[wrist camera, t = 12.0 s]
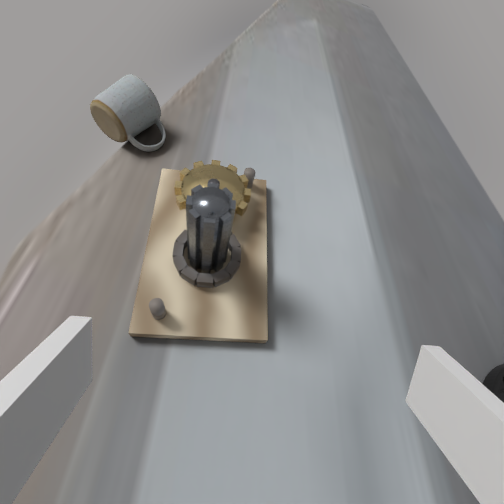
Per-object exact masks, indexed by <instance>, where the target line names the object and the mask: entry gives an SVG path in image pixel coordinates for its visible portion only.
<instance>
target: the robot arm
mask: <svg viewBox="0 0 504 504" xmlns="http://www.w3.org/2000/svg"><path fill="white" fill-rule="evenodd" d="M91 382H92V317H81V316H70V317H69V318H68V319H67V320H66V321H65V322H63V323H62V324H61V325H60V326H59V327H58V328H57V329H56V330H55V331H54V332H53V333H52V334H51V335H49V336H48V337H47V338H46V339H45V340H44V341H43V342H42V343H41V344H40V345H39V346H38V347H37V348H36V349H34V350H33V351H32V352H31V353H30V354H29V355H28V356H27V357H26V358H25V359H24V360H23V361H22V362H20V363H19V364H18V365H17V366H16V367H15V368H14V369H13V370H12V371H11V372H10V373H9V374H8V375H6V376H5V377H4V378H3V379H2V380H1V381H0V504H12V503H13V501H14V500H15V498H16V497H17V495H18V494H19V492H20V490H21V489H22V487H23V486H24V484H25V483H26V481H27V480H28V478H29V477H30V475H31V474H32V472H33V471H34V469H35V467H36V466H37V464H38V463H39V461H40V460H41V458H42V457H43V455H44V454H45V452H46V451H47V449H48V448H49V446H50V444H51V443H52V441H53V440H54V438H55V437H56V435H57V434H58V432H59V431H60V429H61V428H62V426H63V425H64V423H65V421H66V420H67V418H68V417H69V415H70V414H71V412H72V411H73V409H74V408H75V406H76V405H77V403H78V402H79V400H80V398H81V397H82V395H83V394H84V392H85V391H86V389H87V388H88V386H89V385H90V383H91ZM406 403H407V404H408V405H409V407H410V408H411V409H412V411H413V412H414V414H415V415H416V416H417V418H418V419H419V420H420V422H421V423H422V424H423V426H424V427H425V429H426V430H427V431H428V433H429V434H430V435H431V437H432V438H433V440H434V441H435V442H436V444H437V445H438V446H439V448H440V449H441V450H442V452H443V453H444V455H445V456H446V457H447V459H448V460H449V461H450V463H451V464H452V466H453V467H454V468H455V470H456V471H457V472H458V474H459V475H460V477H461V478H462V479H463V481H464V482H465V483H466V485H467V486H468V487H469V489H470V490H471V492H472V493H473V494H474V496H475V497H476V498H477V500H478V501H479V503H480V504H504V364H502V365H499V366H497V367H495V368H494V369H493V370H492V371H490V372H489V374H488V375H487V376H486V378H485V380H484V382H483V384H482V383H481V382H479V381H478V380H477V379H476V378H475V377H474V376H473V375H471V374H470V373H469V372H468V371H467V370H466V369H465V368H463V367H462V366H461V365H460V364H459V363H458V362H457V361H456V360H454V359H453V358H452V357H451V356H450V355H449V354H448V353H446V352H445V351H444V350H443V349H442V348H441V347H440V346H429V345H422V347H421V350H420V353H419V357H418V360H417V364H416V367H415V370H414V374H413V377H412V381H411V384H410V387H409V391H408V394H407V398H406Z"/></svg>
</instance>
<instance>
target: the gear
mask: <svg viewBox="0 0 504 504" xmlns="http://www.w3.org/2000/svg"><path fill="white" fill-rule="evenodd" d="M236 173H237V168H236V167H235V166H233V165H231V164H230V165H229V166H228V167H227V168H226V167H224V166H220V161H217V160H212V164H211V165H204V164H203V162H202V161H199V162H195V163H194V169H192V170H191V171H190V170H188V169H187V168H184V169H183V170H182V171H181V172H180V181H175V186H174V190H175V195H178V196H176V203H177V206H178V208H179V209H180V210H183V209H186V199H187V195H190V196H191V189H193V188H194V187H196V186H198V185H199V184H200V185H201V186H202V187H203V188H204V187H207V185H208V183H215V184H218V188H219V189H221V190H222V189H224V188H225V187H226V188H227V189H228V190H229V191H230V192H231V193H233V197H232V200H236V209H235V214H236V213H237V214H238V215H240V216H243V214H244V213H245V212H246V210H247V205H248V204H247V203H249V202H250V197H251V189H248V188H247V185H248V179H247V178H246V176H245V175H241V176H238V175H237V174H236ZM246 202H247V203H246ZM234 218H235V215H234ZM233 222H234V220H233Z"/></svg>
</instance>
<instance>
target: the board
mask: <svg viewBox="0 0 504 504" xmlns="http://www.w3.org/2000/svg"><path fill="white" fill-rule="evenodd" d="M180 172H181V171H180V170H171V169H162V172H161V177H160V182H159V187H158V192H157V197H156V202H155V206H154V211H153V216H152V221H151V226H150V231H149V236H148V241H147V245H146V250H145V255H144V260H143V265H142V270H141V275H140V280H139V285H138V289H137V294H136V299H135V304H134V309H133V314H132V319H131V324H130V328H129V334H130V336H132V337H152V338H171V339H191V340H211V341H231V342H250V343H266V342H267V341H268V324H267V213H266V180H259V179H254V176H255V170H254V169H252V168H246V169H245V171H244V175H245V176H246V178H247V179H248V185H247V188H248V189H251V197H250V202H249V203H247V202H246V203H247V204H248V205H247V210H246V212H245V213H244V214H243V216H240V215H238V214H237V213H236V214H235V218H234V222H233V225H232V231H231V236H230V241H229V247H228V252H227V258H226V262H224V263H223V268H222V269H220V270H219V271H218V272H215V270H214V269H213V270H210V274H208V273H201V272H202V269H197V270H196V271H195V270H194V269H193V268H192V267H191V266H190V259H188V248H187V222H186V209H183V210H180V209H179V208H178V206H177V203H176V196H178V195H175V190H174V186H175V181H180Z"/></svg>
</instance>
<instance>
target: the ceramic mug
mask: <svg viewBox="0 0 504 504" xmlns="http://www.w3.org/2000/svg"><path fill="white" fill-rule="evenodd" d="M90 109H91V114H92V116H93V118H94V120H95V122H96V123H97V125H98V126H99V127H100V129H101V130H102V131H103V132H104V133H105V134H106V135H107V136H108V137H109V138H111V139H113V140H115V141H117V142H125V141H127V140H129V141H130V142H131V143H132V144H133V145H134V146H135V147H137V148H138V149H140V150H143V151H147V152H150V151H155V150H157V149H159V148H160V147H161V146H162V145H163V143H164V141H165V138H166V133H165V129H164V127H163V124H162V123H161V121H160V120H159V119H160V116H161V110H160V106H159V103H158V101H157V99H156V97H155V95H154V93H153V92H152V90H151V89H150V88H149V87H148V86H147V85H146V83H145V82H144V81H142V80H141V79H140V78H139V77H137V76H135V75H131V74H128V75H125V76H124V77H122V78H121V79H120V80H118V81H117V82H116V83H114V84H113V85H111V86H110V87H109V88H107V89H106V90H105V91H103V92H101V93H100V94H99V95H97V96H96V97H95V99H94V100H93V101H92V103H91V105H90ZM154 123H155V124H156V125H157V126H158V128H159V129H160V132H161V134H162V140H161V141H160V142H159V143H157V144H155V145H150V146H149V145H143V144H141V143H139V142H138V141H137V140H135V138H133V137H135V136H136V135H138V134H139V133H140V132H142V131H144V130H145V129H147V128H148V127H150V126H151V125H153V124H154Z"/></svg>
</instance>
